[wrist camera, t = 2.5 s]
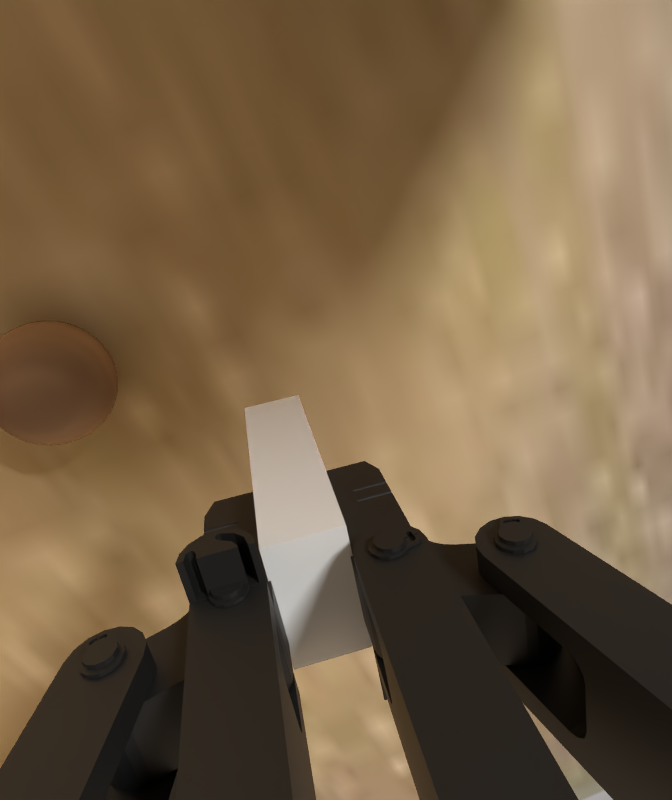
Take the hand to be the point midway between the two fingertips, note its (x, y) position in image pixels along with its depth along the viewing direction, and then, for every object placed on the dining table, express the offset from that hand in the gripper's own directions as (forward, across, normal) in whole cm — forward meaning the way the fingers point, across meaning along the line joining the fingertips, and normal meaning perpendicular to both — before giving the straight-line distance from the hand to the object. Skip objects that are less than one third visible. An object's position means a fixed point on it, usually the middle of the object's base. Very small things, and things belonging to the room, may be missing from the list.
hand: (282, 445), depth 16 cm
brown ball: (+12, -9, 0) cm, 15 cm away
